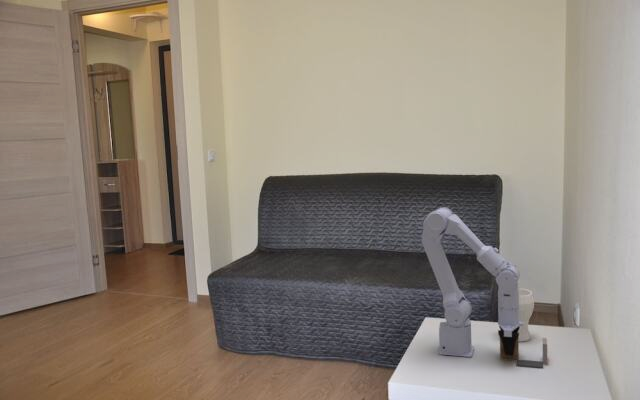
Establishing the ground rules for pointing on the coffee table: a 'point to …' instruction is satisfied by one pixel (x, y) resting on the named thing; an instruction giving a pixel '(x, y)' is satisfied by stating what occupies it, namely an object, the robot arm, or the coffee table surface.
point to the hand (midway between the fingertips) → (509, 352)
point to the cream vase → (525, 312)
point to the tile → (544, 351)
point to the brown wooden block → (509, 357)
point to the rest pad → (529, 363)
